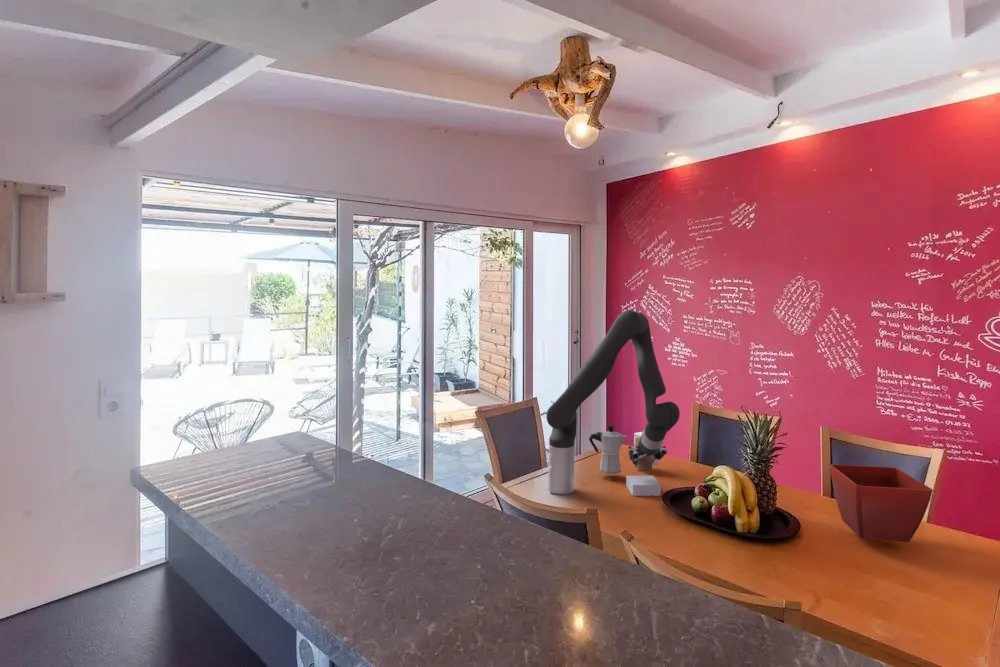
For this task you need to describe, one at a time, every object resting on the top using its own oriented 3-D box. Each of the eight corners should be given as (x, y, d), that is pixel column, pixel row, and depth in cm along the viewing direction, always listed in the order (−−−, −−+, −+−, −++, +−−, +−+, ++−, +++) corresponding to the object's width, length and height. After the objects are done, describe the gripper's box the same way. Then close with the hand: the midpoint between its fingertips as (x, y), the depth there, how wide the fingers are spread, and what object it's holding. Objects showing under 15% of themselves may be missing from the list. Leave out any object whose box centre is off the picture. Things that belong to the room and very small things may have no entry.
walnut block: (638, 471, 199) (638, 441, 198) (634, 466, 204) (635, 437, 203) (652, 471, 199) (652, 441, 198) (648, 466, 204) (648, 437, 203)
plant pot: (931, 549, 149) (934, 489, 148) (854, 544, 153) (857, 485, 151) (894, 520, 168) (896, 467, 167) (826, 516, 172) (828, 463, 170)
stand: (632, 495, 197) (632, 485, 197) (626, 486, 207) (626, 475, 207) (660, 495, 197) (660, 484, 197) (652, 485, 207) (652, 475, 207)
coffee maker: (625, 467, 220) (625, 423, 219) (628, 474, 211) (628, 428, 210) (587, 466, 222) (588, 422, 220) (589, 473, 213) (589, 427, 212)
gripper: (670, 430, 193) (659, 453, 206) (629, 430, 193) (621, 453, 206) (674, 449, 188) (663, 471, 201) (633, 449, 188) (624, 472, 201)
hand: (642, 462), depth 203 cm, fingers closed on walnut block, 5 cm apart
